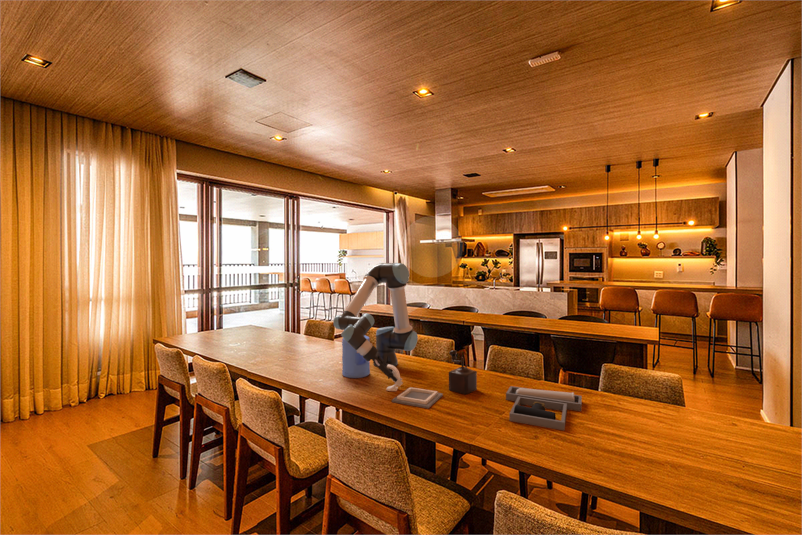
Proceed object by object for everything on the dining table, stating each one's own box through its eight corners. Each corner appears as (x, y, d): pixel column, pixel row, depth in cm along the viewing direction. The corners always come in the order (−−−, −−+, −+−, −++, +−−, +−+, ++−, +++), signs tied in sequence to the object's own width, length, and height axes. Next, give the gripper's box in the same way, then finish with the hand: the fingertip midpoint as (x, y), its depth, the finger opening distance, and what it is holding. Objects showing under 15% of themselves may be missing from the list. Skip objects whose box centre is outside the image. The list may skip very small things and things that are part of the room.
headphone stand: (388, 388, 190) (388, 364, 191) (399, 388, 189) (399, 364, 190) (386, 390, 186) (386, 366, 186) (398, 391, 185) (398, 366, 185)
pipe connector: (521, 397, 162) (558, 404, 154) (521, 409, 162) (558, 417, 154) (513, 406, 152) (553, 414, 144) (514, 419, 153) (553, 428, 144)
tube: (515, 391, 173) (574, 397, 165) (515, 384, 178) (573, 390, 169) (515, 401, 175) (574, 407, 166) (516, 394, 180) (573, 400, 171)
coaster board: (408, 389, 187) (408, 385, 187) (442, 395, 179) (442, 390, 179) (391, 402, 171) (391, 397, 171) (428, 408, 163) (428, 403, 163)
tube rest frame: (510, 392, 184) (510, 386, 184) (581, 402, 170) (581, 395, 170) (506, 399, 173) (506, 393, 173) (581, 411, 160) (581, 404, 160)
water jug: (337, 377, 209) (337, 327, 208) (349, 369, 224) (349, 322, 223) (363, 379, 204) (363, 328, 204) (373, 371, 219) (373, 323, 219)
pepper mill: (478, 389, 188) (478, 353, 188) (466, 395, 180) (466, 357, 180) (452, 382, 199) (452, 348, 198) (439, 387, 190) (439, 352, 190)
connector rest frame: (518, 402, 170) (518, 396, 169) (566, 410, 161) (566, 403, 161) (509, 420, 150) (509, 413, 150) (564, 430, 141) (564, 422, 141)
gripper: (362, 352, 195) (394, 382, 196) (361, 360, 177) (396, 394, 179) (373, 341, 195) (404, 372, 197) (372, 349, 178) (407, 383, 179)
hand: (400, 382), depth 188 cm, fingers closed on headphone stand, 5 cm apart
